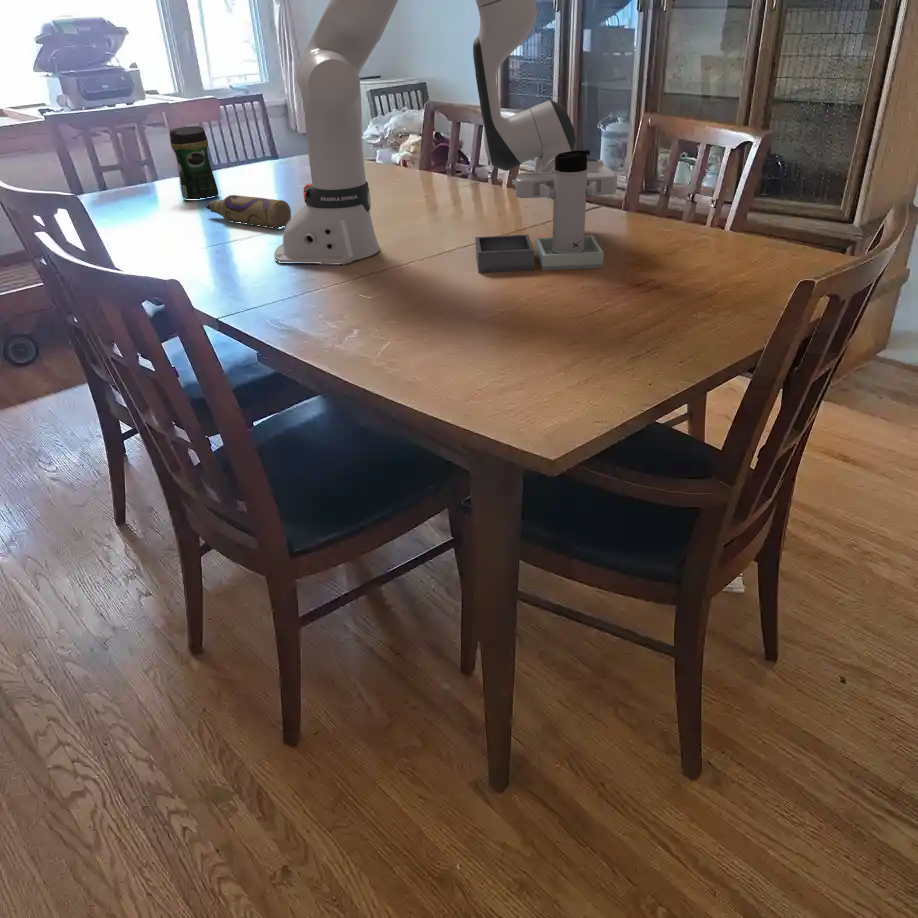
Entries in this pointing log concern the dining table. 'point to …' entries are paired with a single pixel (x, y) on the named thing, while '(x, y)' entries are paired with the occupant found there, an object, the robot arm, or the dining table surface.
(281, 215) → the decorative bottle
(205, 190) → the coffee jar
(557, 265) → the tray
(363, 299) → the dining table surface
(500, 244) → the collar
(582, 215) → the travel mug
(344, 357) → the dining table surface
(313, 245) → the robot arm
